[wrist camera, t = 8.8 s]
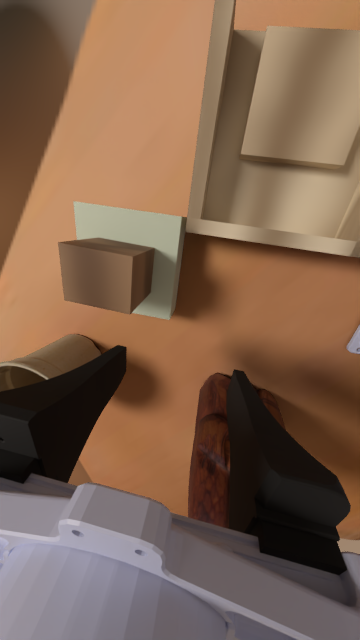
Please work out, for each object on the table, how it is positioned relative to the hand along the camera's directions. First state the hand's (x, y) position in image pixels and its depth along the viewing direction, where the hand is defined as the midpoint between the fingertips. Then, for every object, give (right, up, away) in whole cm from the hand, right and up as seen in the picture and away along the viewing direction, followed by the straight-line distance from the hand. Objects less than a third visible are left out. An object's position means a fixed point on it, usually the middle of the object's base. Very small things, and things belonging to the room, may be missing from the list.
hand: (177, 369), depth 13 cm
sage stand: (-4, +9, +7) cm, 13 cm away
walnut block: (-5, +8, +5) cm, 10 cm away
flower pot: (-13, -1, +14) cm, 20 cm away
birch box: (+8, +16, +2) cm, 18 cm away
